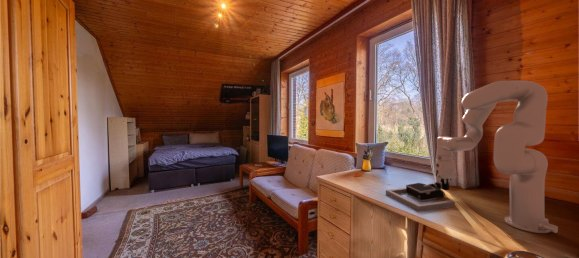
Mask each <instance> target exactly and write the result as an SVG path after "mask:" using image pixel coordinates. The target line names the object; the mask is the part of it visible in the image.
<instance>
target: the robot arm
mask: <svg viewBox="0 0 579 258" xmlns="http://www.w3.org/2000/svg"><path fill="white" fill-rule="evenodd" d="M548 97H549V96H548V93H547V90H546V88H545V87H544V86H543V85H541V84H540V83H537V82H534V81H532V80H531V81H530V80H521V79H520V80H519V79H518V80H517V79H515V80H514V79H513V80H498V81H493V82H491V83H488V84H486V85H483V86H481V87H479V88H477V89H474V90H471V91H470V92H468V93H466V94H465V95H464V96H463V97H462V98H461V106H462V107H463V109H465V110H466V111H465V112H464V114H463V116H462V117H461V120H462V122H463V123H464V124H465V125H467V126H468V130H467V132H466V133H465V134H464V136H457V137H452V136H438V137H437V138H436V156H435V158H436V161H435V166H434V176H435V177H436V179H435V180H437V181H439V182H440V183H441V184H442V188H441V190H443V191H449V190H450V183H451V181H452V180H454V179H455V178H457V167H456V162H455V160H454V152H461V151H462V152H463V151H471V150H473V149H474V148H475V147H477V146H478V144H479V142H480V141H481V139H482V138H483V133H484V129H483V125H484V123H485V122H486V120H487V118H488V117H489V116H490V114H491V113H492V111H493V110H494V109H495V108H496V106H497V104H498V103H502V102H516V103H517V105H516V107H515V109H514V111H513V121H512V122H511V123H510V122H509V123H506V124H503V125H501V126H500V127H499V128H498V129H497V130H496V132H495V134H494V142H493V164H494V166H495V168H496V169H497V170H498V171H499V172H501V173H502V174H506V175H510V176H509V215H508V216H505V217H504V222H505V223H506V224H507V225H509V226H511V227H513V228H516V229H519V230H522V231H525V232H529V233H538V234H549V233H551V232H552V233H555V234H557V233H558V231H559V226H557V225H554V224H551V223H550V222H549V219H548V218H546V217H545V214H546V213H545V187H546V186H545V185H546V183H545V182H546V175H547V170H548V166H549V163H548V159H547V156H546V155H545V154H544V153H543V152H541V151H539V150H537V149H533V148H526V147H532V146H536V145H537V146H538V145H539V144H541V143H543V142H544V139H545V136H546V134H545V133H546V120H547V108H548V106H547V105H548Z"/></svg>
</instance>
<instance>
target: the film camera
mask: <svg viewBox="0 0 579 258" xmlns="http://www.w3.org/2000/svg"><path fill="white" fill-rule="evenodd" d="M405 188H406V189H407V193H406V194H407V195H409V196H410V197H412V198H415V199H416V200H418V201H420V202H428V201H432V200H434V201H435V200H437V199H440V198H444V197H446V193H445V190H443V189H442V182H441V181H437V182H434V183H428V184H426V183H422V182H416V183H410V184H406V185H405Z"/></svg>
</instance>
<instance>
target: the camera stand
mask: <svg viewBox="0 0 579 258" xmlns="http://www.w3.org/2000/svg"><path fill="white" fill-rule="evenodd" d="M401 193H403V194H407V189H406V187H401V188H400V187H399V188H393V189H385V194H386V195H387V194H388V195H387V196H389V195H390V196H392V197H393V198H392V197H391V198H392V199H394V198H395V200H396V199H397V200H396V201H398V200H399V201H398V202H400V203H402V204H404V205H406V206H407V205H408V207H409V206H410V209H413V210H415V211H416V212H427V211H432V210H441V209H448V208H453V207H454V208H455V207H456V201H454V200H444V201H436V202H428V203H423V204H420V203H417V202H416V201H413V200H410V199H409V198H406V197H405V196H402V195H400V194H401ZM390 196H389V197H390Z"/></svg>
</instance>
